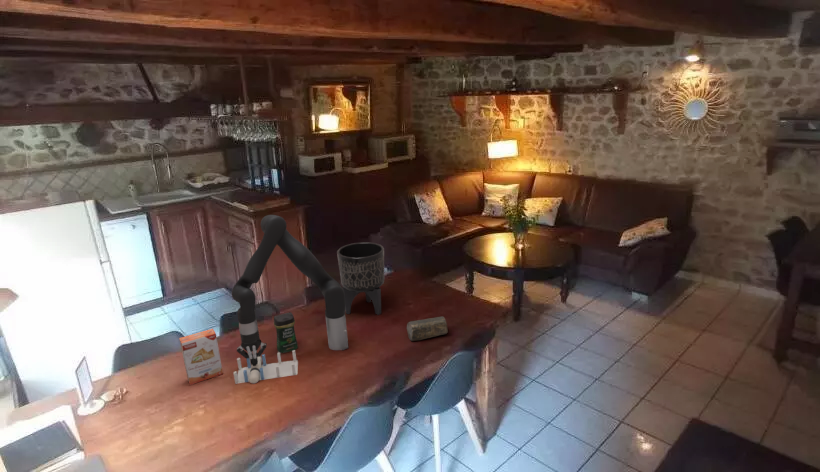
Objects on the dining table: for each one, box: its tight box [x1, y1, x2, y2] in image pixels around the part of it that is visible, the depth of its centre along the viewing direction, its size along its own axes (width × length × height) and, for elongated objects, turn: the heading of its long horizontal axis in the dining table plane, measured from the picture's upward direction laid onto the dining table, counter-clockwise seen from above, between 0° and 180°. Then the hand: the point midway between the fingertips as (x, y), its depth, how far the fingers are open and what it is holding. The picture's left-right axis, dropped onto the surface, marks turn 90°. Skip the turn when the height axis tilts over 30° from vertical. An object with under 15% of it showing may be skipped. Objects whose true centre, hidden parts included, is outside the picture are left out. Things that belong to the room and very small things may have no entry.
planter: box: [336, 241, 385, 316], centre depth 264 cm, size 25×25×36 cm
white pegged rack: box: [233, 349, 299, 385], centre depth 212 cm, size 26×13×6 cm, turn 101°
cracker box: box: [179, 328, 224, 386], centre depth 209 cm, size 14×6×21 cm, turn 124°
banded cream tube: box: [248, 355, 263, 384], centre depth 212 cm, size 16×4×4 cm, turn 11°
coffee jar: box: [273, 311, 299, 354], centre depth 229 cm, size 10×8×19 cm
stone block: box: [406, 316, 449, 342], centre depth 238 cm, size 20×9×10 cm
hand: (254, 364), depth 211 cm, fingers closed
